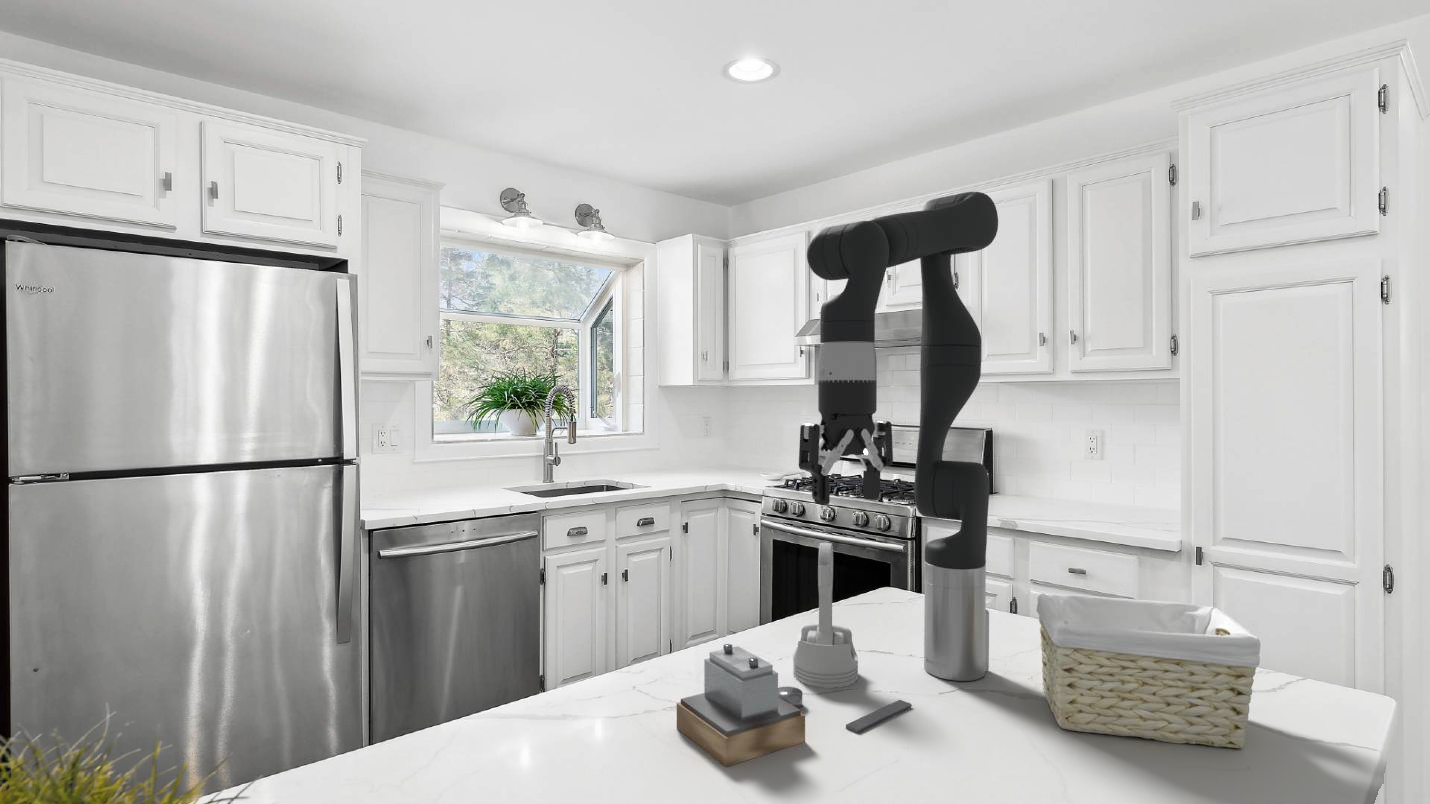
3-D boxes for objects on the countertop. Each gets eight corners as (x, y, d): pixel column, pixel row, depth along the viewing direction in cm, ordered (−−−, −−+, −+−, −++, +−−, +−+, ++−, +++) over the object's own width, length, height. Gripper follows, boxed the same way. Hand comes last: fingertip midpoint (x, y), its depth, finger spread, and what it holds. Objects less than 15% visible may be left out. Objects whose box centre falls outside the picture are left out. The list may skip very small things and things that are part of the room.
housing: (778, 712, 97) (778, 659, 97) (741, 722, 94) (741, 667, 94) (739, 688, 104) (739, 638, 104) (704, 696, 102) (704, 646, 101)
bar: (899, 706, 109) (899, 699, 109) (911, 711, 107) (911, 704, 107) (845, 732, 101) (845, 724, 101) (857, 737, 100) (858, 730, 100)
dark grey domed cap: (790, 698, 111) (790, 684, 111) (808, 707, 108) (808, 693, 108) (768, 704, 109) (768, 690, 109) (785, 714, 106) (785, 700, 106)
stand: (751, 707, 107) (751, 679, 107) (805, 741, 97) (805, 710, 97) (676, 728, 101) (676, 698, 101) (726, 767, 91) (726, 733, 91)
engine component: (789, 685, 116) (857, 690, 114) (790, 550, 115) (857, 553, 113) (796, 659, 126) (858, 663, 124) (796, 536, 126) (858, 538, 124)
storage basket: (1213, 705, 108) (1215, 601, 108) (1265, 759, 93) (1267, 639, 92) (1033, 688, 114) (1033, 590, 114) (1052, 737, 99) (1053, 624, 98)
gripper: (824, 377, 93) (823, 510, 93) (907, 377, 101) (907, 500, 101) (786, 378, 99) (786, 502, 100) (867, 378, 107) (867, 493, 107)
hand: (847, 501), depth 100 cm, fingers open, 8 cm apart
